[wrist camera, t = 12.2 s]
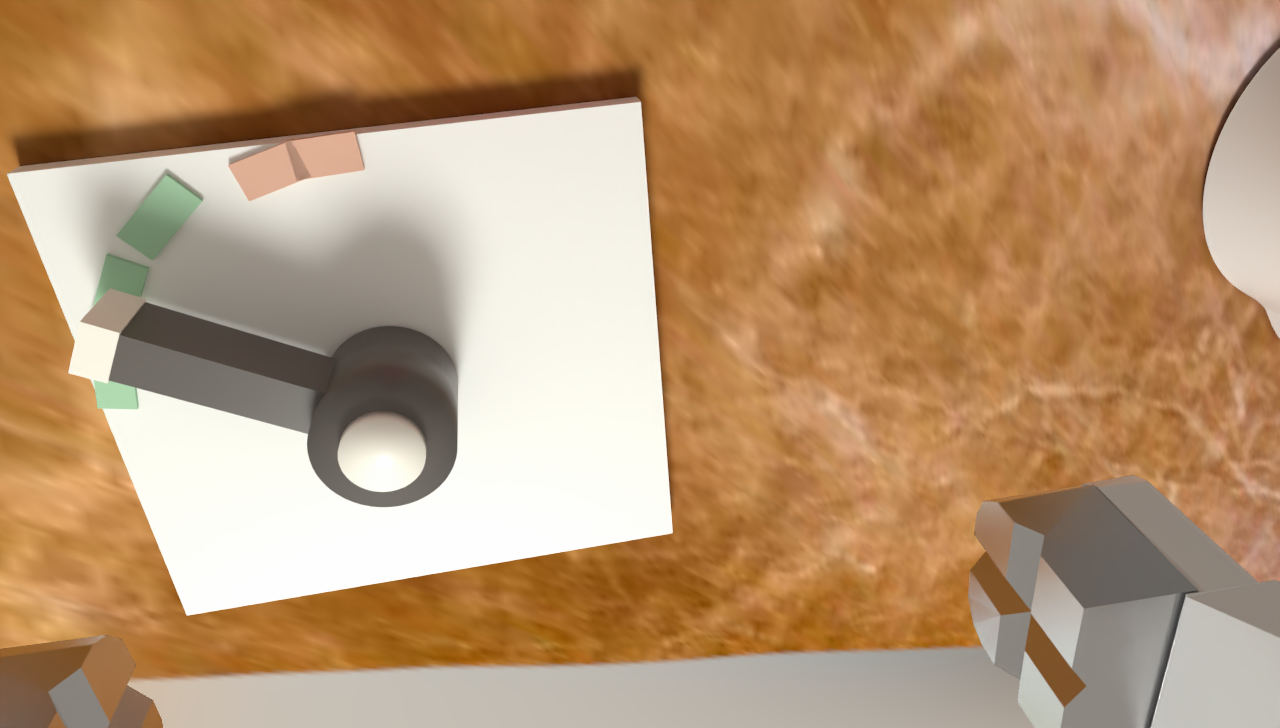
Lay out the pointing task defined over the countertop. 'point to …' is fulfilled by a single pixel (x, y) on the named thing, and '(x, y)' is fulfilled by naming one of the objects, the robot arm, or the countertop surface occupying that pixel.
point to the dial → (295, 391)
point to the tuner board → (385, 296)
